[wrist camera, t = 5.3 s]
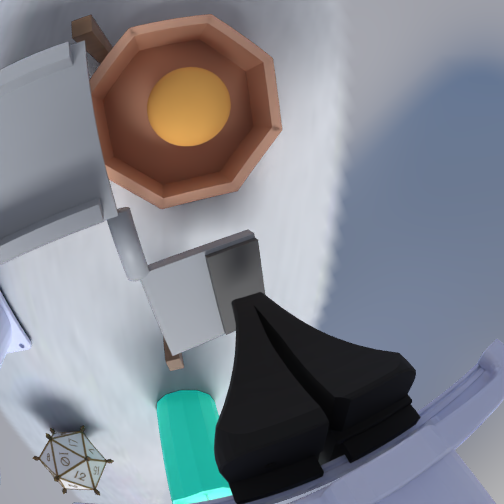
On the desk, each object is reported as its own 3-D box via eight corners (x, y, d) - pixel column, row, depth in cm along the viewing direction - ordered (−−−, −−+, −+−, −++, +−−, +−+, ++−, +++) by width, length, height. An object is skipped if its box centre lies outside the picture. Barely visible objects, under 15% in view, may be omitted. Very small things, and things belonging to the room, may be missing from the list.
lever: (40, 394, 11) (40, 436, 9) (-79, 135, 4) (-115, 141, 2) (259, 309, 16) (289, 340, 14) (218, 27, 9) (252, 3, 7)
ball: (221, 136, 15) (152, 152, 14) (212, 70, 13) (140, 82, 12) (248, 139, 12) (158, 159, 11) (236, 54, 10) (142, 67, 9)
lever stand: (67, 330, 18) (52, 391, 13) (-12, 105, 9) (-68, 108, 4) (174, 304, 19) (184, 367, 14) (113, 48, 11) (90, 14, 6)
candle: (143, 406, 23) (159, 518, 13) (190, 381, 23) (222, 504, 13) (182, 426, 26) (206, 522, 16) (226, 405, 27) (262, 506, 16)
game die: (75, 416, 27) (57, 476, 20) (34, 398, 20) (13, 470, 14) (132, 445, 25) (113, 510, 19) (96, 437, 19) (73, 517, 12)
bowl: (119, 203, 15) (110, 223, 12) (90, 59, 11) (74, 45, 8) (264, 169, 17) (287, 181, 14) (245, 30, 13) (265, 12, 10)
